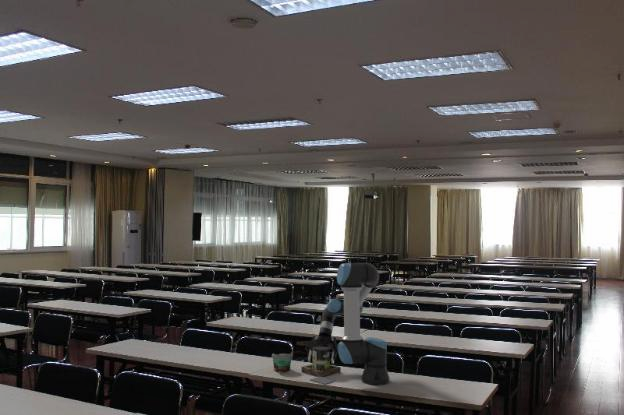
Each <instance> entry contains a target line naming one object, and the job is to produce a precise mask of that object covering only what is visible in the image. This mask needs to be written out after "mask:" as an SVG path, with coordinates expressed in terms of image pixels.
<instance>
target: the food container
mask: <svg viewBox="0 0 624 415" xmlns="http://www.w3.org/2000/svg"><path fill="white" fill-rule="evenodd" d="M271 357H272V362H273V370H274V371H275V372H278V373H286V372H290V371H291V363H292V358H293V352H290V353H279V354H276V353H272V354H271Z"/></svg>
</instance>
